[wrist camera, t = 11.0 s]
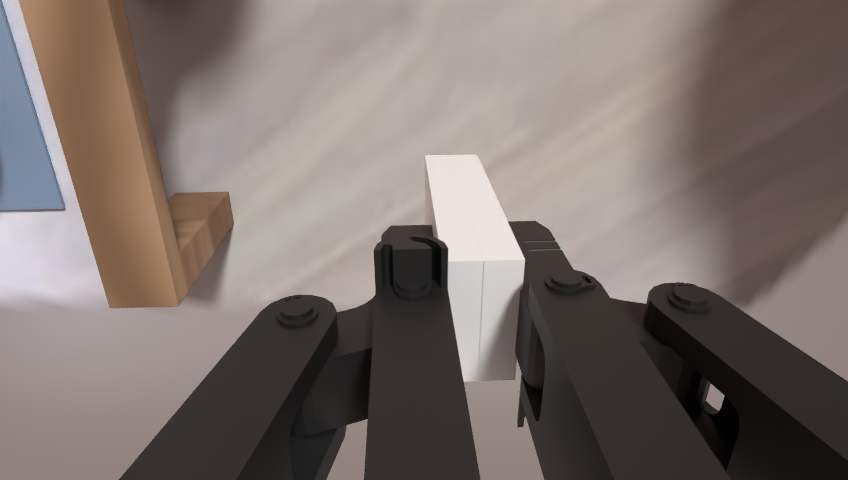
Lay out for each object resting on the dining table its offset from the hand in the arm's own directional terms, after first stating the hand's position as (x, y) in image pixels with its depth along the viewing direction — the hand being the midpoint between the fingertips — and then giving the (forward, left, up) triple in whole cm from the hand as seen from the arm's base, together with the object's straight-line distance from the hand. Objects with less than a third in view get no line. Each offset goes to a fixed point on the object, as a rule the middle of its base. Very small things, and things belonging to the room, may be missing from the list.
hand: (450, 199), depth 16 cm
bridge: (+13, 0, -15) cm, 20 cm away
